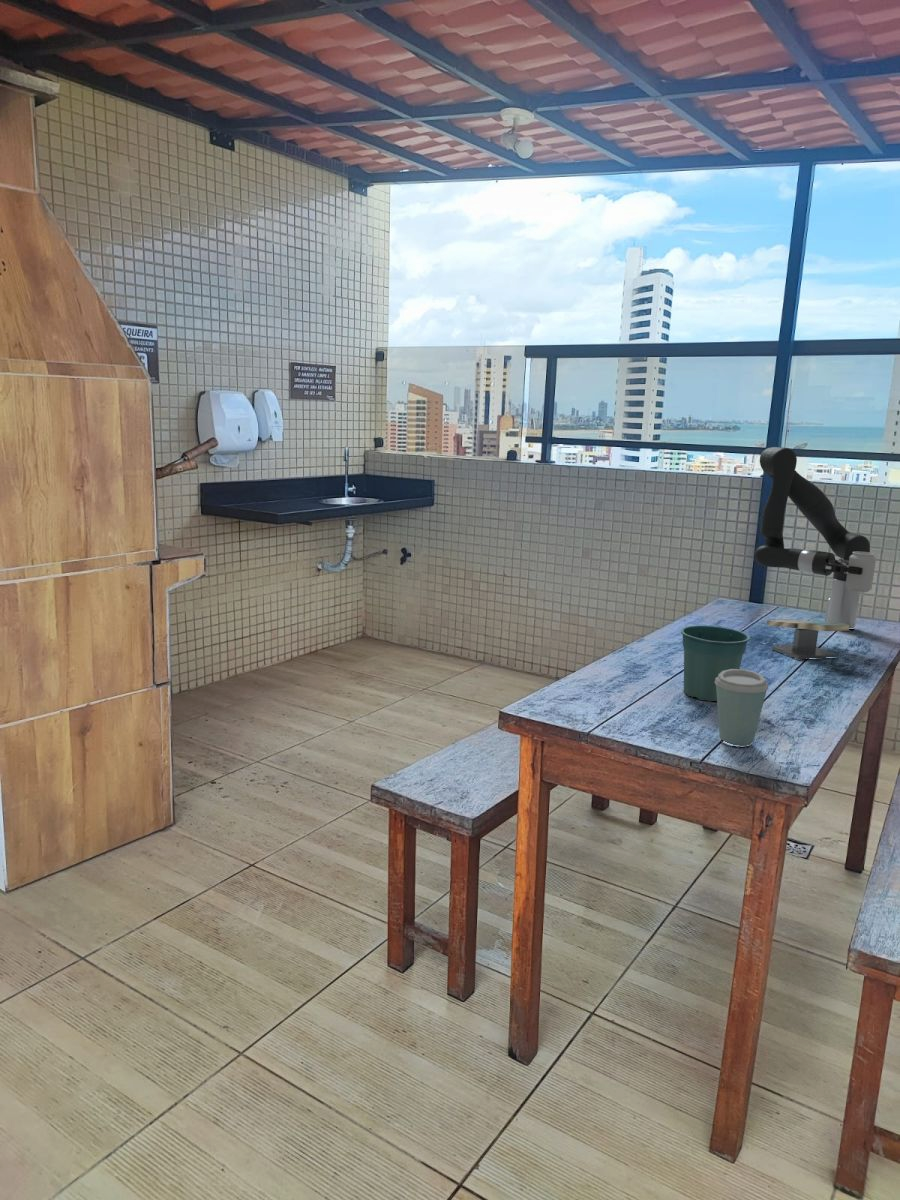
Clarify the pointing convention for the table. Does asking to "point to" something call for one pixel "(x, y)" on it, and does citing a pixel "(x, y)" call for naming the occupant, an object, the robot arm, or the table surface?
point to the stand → (804, 646)
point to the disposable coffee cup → (739, 704)
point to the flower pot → (710, 657)
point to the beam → (809, 625)
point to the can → (866, 578)
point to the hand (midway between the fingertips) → (867, 570)
